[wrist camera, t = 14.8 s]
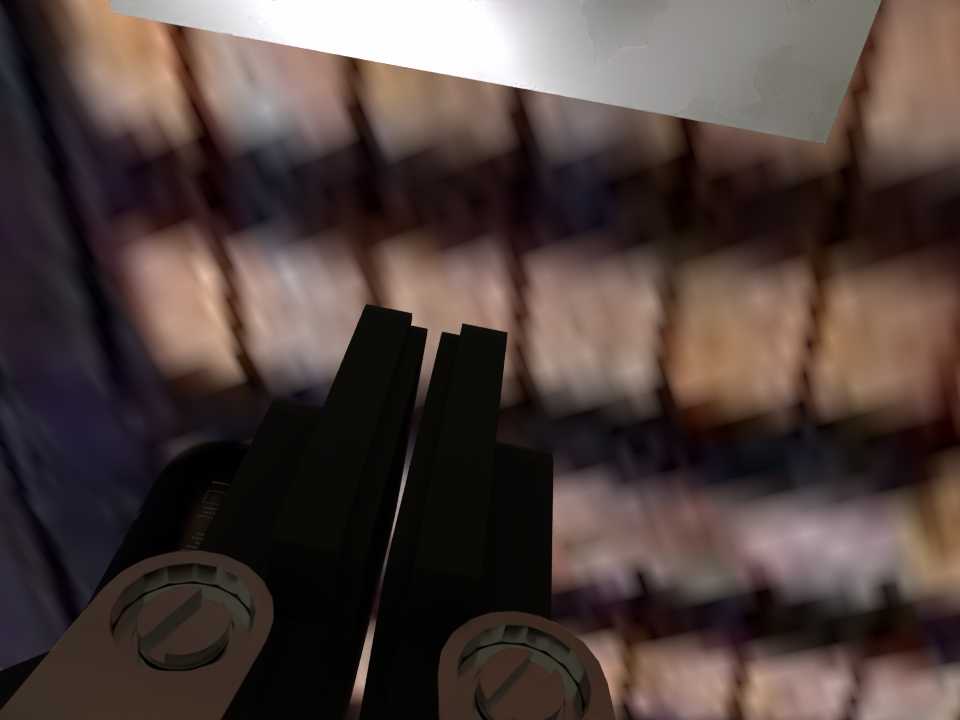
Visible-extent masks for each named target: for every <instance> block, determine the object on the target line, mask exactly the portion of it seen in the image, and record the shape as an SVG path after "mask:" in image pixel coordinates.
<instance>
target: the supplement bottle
mask: <svg viewBox="0 0 960 720" xmlns="http://www.w3.org/2000/svg"><path fill="white" fill-rule="evenodd" d="M246 452H247V450H245V449H241V448H235V447H209V448H203V449H198V450H195V451H192V452H189V453H187V454H184V455H182V456H180V457H179V458H177V459H175V460H174V461H173V462H172V463H170V464H169V465H168V466H167V467H166V468H165V469H164V470H163V471H162V473H161V474H160V475H159V477H158V478H157V480H156V482H155V483H154V485H153V487H152V489H151V491H150V492H149V494H148V495H147V497H146V499H145V501H144V503H143V505H142V506H141V508H140V510H139V512H138V514H137V515H136V517H135V519H134V521H133V523H132V525H131V526H130V528H129V530H128V532H127V534H126V535H125V537H124V539H123V541H122V543H121V545H120V546H119V548H118V550H117V552H116V554H115V555H114V557H113V559H112V561H111V563H110V565H109V566H108V568H107V570H106V572H105V574H104V575H103V577H102V579H101V581H100V583H99V585H98V586H97V588H96V590H95V592H94V594H93V595H92V597H91V599H90V601H89V603H88V605H87V606H86V608H87V607H88V606H89V605H90V603H91V602H92V601H93V600H94V599H95V597H96V596H97V595H98V594H99V593H100V591H101V590H102V589H103V588H104V587H105V586H106V585H107V584H108V583H110V582H111V581H112V580H113V579H114V578H115V577H116V576H117V575H119V574H120V573H121V572H122V571H123V570H125V569H127V568H129V567H131V566H133V565H135V564H137V563H139V562H141V561H143V560H145V559H147V558H151V557H154V556H158V555H162V554H166V553H170V552H178V551H197V549H198V547H199V545H200V543H201V541H202V539H203V537H204V535H205V533H206V531H207V529H208V527H209V525H210V523H211V522H212V520H213V518H214V516H215V514H216V512H217V510H218V508H219V506H220V504H221V502H222V500H223V498H224V496H225V494H226V492H227V490H228V488H229V486H230V484H231V482H232V480H233V478H234V476H235V474H236V472H237V470H238V468H239V466H240V464H241V462H242V460H243V458H244V456H245V454H246ZM86 608H85V609H86Z"/></svg>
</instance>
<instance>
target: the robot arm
mask: <svg viewBox="0 0 960 720" xmlns="http://www.w3.org/2000/svg"><path fill="white" fill-rule="evenodd" d="M411 323H412V313H408V312H403V311H398V310H393V309H388V308H383V307H378V306H373V305H368V304H366V306H365V307H364V310H363V312H362V315H361V317H360V319H359V322H358V324H357V327H356V329H355V331H354V334H353V336H352V339H351V341H350V344H349V346H348V348H347V351H346V353H345V356H344V358H343V360H342V363H341V365H340V368H339V370H338V373H337V375H336V377H335V380H334V382H333V385H332V387H331V389H330V392H329V394H328V397H327V399H326V402H325V404H324V406H323V407H320V406H314V405H309V404H304V403H299V402H294V401H289V400H284V399H279V398H277V399H275V400H274V401H273V402H272V404H271V406H270V407H269V409H268V411H267V413H266V415H265V417H264V419H263V421H262V423H261V425H260V427H259V429H258V431H257V433H256V435H255V437H254V439H253V440H252V442H251V444H250V446H249V448H248V450H247V452H246V454H245V456H244V458H243V460H242V462H241V464H240V466H239V468H238V470H237V472H236V474H235V476H234V478H233V480H232V482H231V484H230V486H229V488H228V490H227V492H226V494H225V496H224V498H223V500H222V502H221V504H220V506H219V508H218V510H217V512H216V514H215V516H214V518H213V520H212V522H211V523H210V525H209V527H208V529H207V531H206V533H205V535H204V537H203V539H202V541H201V543H200V545H199V547H198V549H197V551H178V552H170V553H166V554H162V555H158V556H154V557H151V558H147V559H145V560H143V561H141V562H139V563H137V564H135V565H133V566H131V567H129V568H127V569H125V570H123V571H122V572H121V573H120V574H119V575H117V576H116V577H115V578H114V579H113V580H112V581H111V582H110V583H108V584H107V585H106V586H105V587H104V588H103V589H102V590H101V591H100V593H99V594H98V595H97V596H96V597H95V599H94V600H93V601H92V602H91V603H90V605H89V606H88V607H87V608H86V609H85V610H84V612H83V613H82V614H81V615H80V616H79V618H78V619H77V620H76V621H75V622H74V624H73V625H72V626H71V627H70V628H69V630H68V631H67V632H66V633H65V634H64V635H63V637H62V638H61V639H60V640H59V641H58V643H57V644H56V645H55V646H54V647H53V649H52V650H51V651H49V652H46V653H44V654H41V655H39V656H36V657H34V658H31V659H29V660H26V661H24V662H22V663H19V664H17V665H14V666H12V667H9V668H7V669H4V670H2V671H0V720H346V716H347V712H348V708H349V704H350V700H351V696H352V692H353V687H354V683H355V679H356V675H357V671H358V667H359V663H360V659H361V655H362V651H363V646H364V642H365V638H366V634H367V630H368V626H369V622H370V618H371V614H372V610H373V605H374V601H375V597H376V593H377V589H378V585H379V581H380V577H381V573H382V568H383V564H384V560H385V556H386V552H387V548H388V544H389V540H390V536H391V531H392V527H393V523H394V518H395V513H396V508H397V503H398V497H399V491H400V486H401V480H402V474H403V469H404V463H405V457H406V452H407V446H408V440H409V435H410V429H411V423H412V417H413V412H414V406H415V400H416V395H417V389H418V383H419V378H420V372H421V366H422V361H423V355H424V349H425V343H426V338H427V330H428V329H426V328H421V327H416V326H411ZM506 343H507V332H503V331H498V330H493V329H488V328H483V327H478V326H473V325H468V324H463V323H462V328H461V333H460V335H456V334H451V333H446V332H442V334H441V338H440V342H439V346H438V350H437V355H436V359H435V363H434V367H433V371H432V375H431V380H430V384H429V388H428V392H427V396H426V400H425V405H424V409H423V413H422V417H421V421H420V425H419V430H418V434H417V438H416V442H415V446H414V450H413V455H412V459H411V463H410V467H409V471H408V475H407V480H406V484H405V488H404V492H403V496H402V500H401V505H400V509H399V513H398V517H397V521H396V525H395V530H394V534H393V538H392V542H391V547H390V552H389V556H388V561H387V566H386V571H385V576H384V581H383V587H382V592H381V598H380V604H379V609H378V615H377V621H376V626H375V632H374V638H373V643H372V649H371V655H370V661H369V666H368V672H367V678H366V683H365V689H364V695H363V700H362V706H361V712H360V718H359V720H616V718H615V714H614V709H613V705H612V700H611V696H610V691H609V687H608V683H607V681H606V678H605V676H604V673H603V671H602V668H601V666H600V663H599V661H598V660H597V659H596V657H595V656H594V655H593V654H592V652H591V651H590V650H589V648H588V647H587V646H586V645H585V643H584V642H583V641H581V640H580V639H579V638H577V637H576V636H575V635H574V634H572V633H571V632H570V631H568V630H567V629H566V628H564V627H563V626H561V625H559V624H556V623H554V622H552V621H551V585H552V521H553V455H552V453H551V452H548V451H543V450H538V449H532V448H527V447H522V446H517V445H512V444H507V443H502V442H497V441H496V434H497V425H498V416H499V407H500V398H501V389H502V380H503V370H504V361H505V352H506Z"/></svg>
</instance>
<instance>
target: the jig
mask: <svg viewBox="0 0 960 720" xmlns="http://www.w3.org/2000/svg"><path fill="white" fill-rule="evenodd" d="M880 3H881V0H110V7H111V13H116V14H122V15H127V16H132V17H138V18H143V19H149V20H154V21H160V22H165V23H170V24H176V25H181V26H187V27H192V28H198V29H203V30H208V31H214V32H219V33H225V34H230V35H236V36H241V37H246V38H252V39H257V40H263V41H268V42H274V43H279V44H284V45H290V46H295V47H301V48H306V49H312V50H317V51H322V52H328V53H333V54H339V55H344V56H350V57H355V58H360V59H366V60H371V61H377V62H382V63H387V64H393V65H398V66H404V67H409V68H415V69H420V70H425V71H431V72H436V73H442V74H447V75H453V76H458V77H463V78H469V79H474V80H480V81H485V82H491V83H496V84H501V85H507V86H512V87H518V88H523V89H529V90H534V91H539V92H545V93H550V94H556V95H561V96H567V97H572V98H577V99H583V100H588V101H594V102H599V103H605V104H610V105H615V106H621V107H626V108H632V109H637V110H642V111H648V112H653V113H659V114H664V115H670V116H675V117H680V118H686V119H691V120H697V121H702V122H708V123H713V124H718V125H724V126H729V127H735V128H740V129H746V130H751V131H756V132H762V133H767V134H773V135H778V136H784V137H789V138H794V139H800V140H805V141H811V142H816V143H822V144H826V143H827V140H828V137H829V135H830V132H831V130H832V127H833V125H834V122H835V119H836V117H837V114H838V112H839V109H840V106H841V104H842V101H843V99H844V96H845V93H846V91H847V88H848V86H849V83H850V81H851V78H852V75H853V73H854V70H855V68H856V65H857V62H858V60H859V57H860V55H861V52H862V49H863V47H864V44H865V42H866V39H867V37H868V34H869V31H870V29H871V26H872V24H873V21H874V18H875V16H876V13H877V11H878V8H879V6H880Z"/></svg>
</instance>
